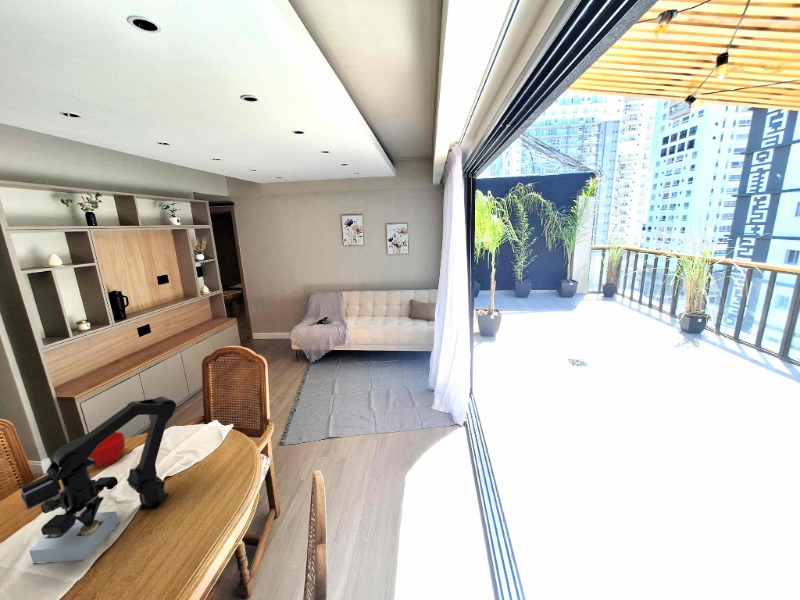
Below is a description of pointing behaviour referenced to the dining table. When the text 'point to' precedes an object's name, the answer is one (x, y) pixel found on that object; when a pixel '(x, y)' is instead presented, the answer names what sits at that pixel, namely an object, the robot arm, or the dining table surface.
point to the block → (74, 541)
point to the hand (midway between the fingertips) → (89, 525)
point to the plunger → (58, 535)
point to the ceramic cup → (109, 450)
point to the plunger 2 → (89, 528)
